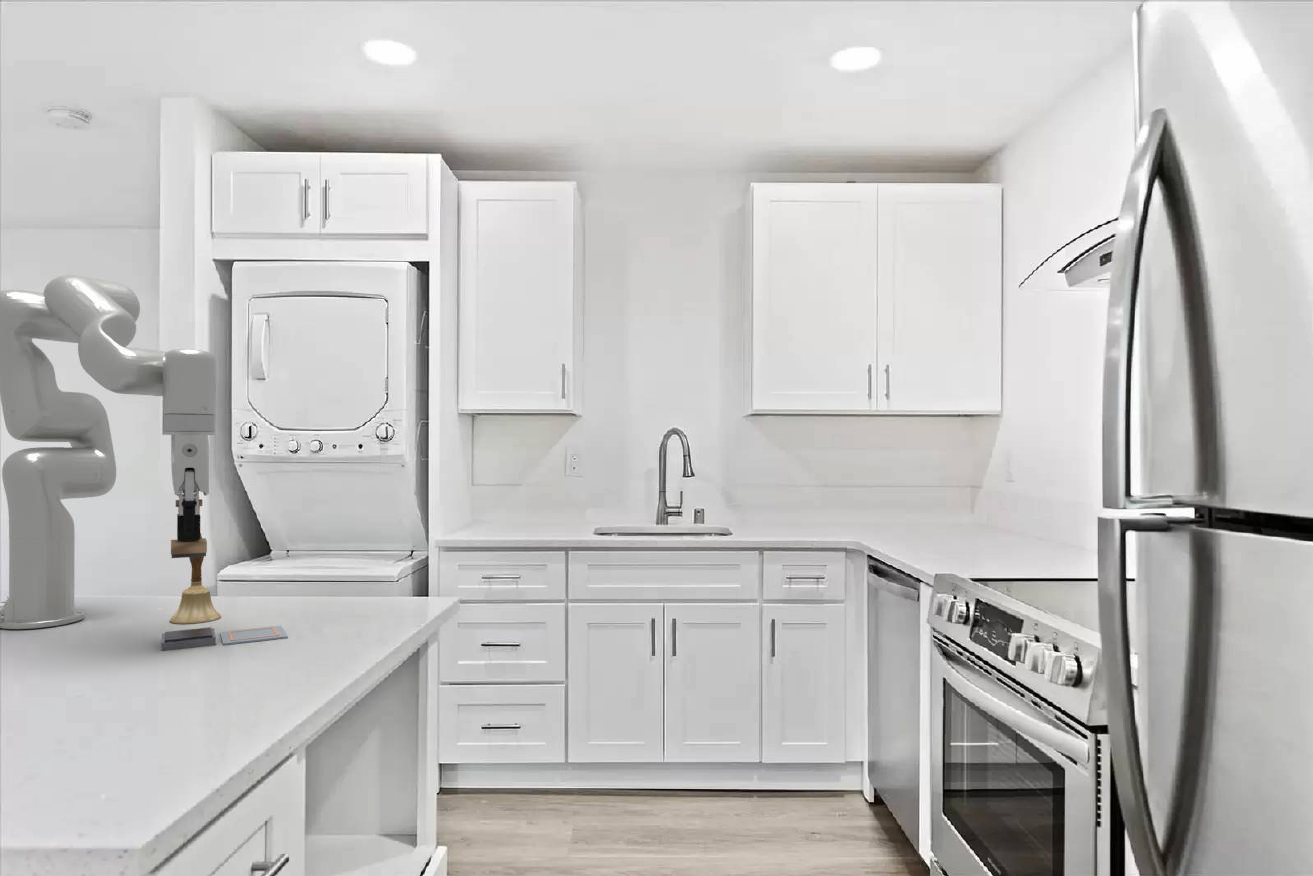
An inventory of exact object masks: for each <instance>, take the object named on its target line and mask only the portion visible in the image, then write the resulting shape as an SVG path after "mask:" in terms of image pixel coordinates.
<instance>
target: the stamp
mask: <svg viewBox="0 0 1313 876" xmlns="http://www.w3.org/2000/svg"><path fill="white" fill-rule="evenodd" d="M202 506H203V499H200V498H199V515H200V516H201V514H200V512H201V509H200V508H201V507H202ZM175 507H176V508H177V509H178V510H177V511H178V513H177V514H178V516H179V499H176V500H175ZM207 552H208V541H207V538H206V537H204V538H203V537H202V538H200V539H199V540H192V541H178V540H177V539H170V555H171V559H179V558H180V559H184V558H189V557H202V556H204V557H207Z"/></svg>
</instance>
